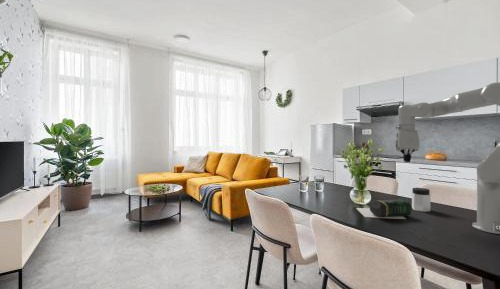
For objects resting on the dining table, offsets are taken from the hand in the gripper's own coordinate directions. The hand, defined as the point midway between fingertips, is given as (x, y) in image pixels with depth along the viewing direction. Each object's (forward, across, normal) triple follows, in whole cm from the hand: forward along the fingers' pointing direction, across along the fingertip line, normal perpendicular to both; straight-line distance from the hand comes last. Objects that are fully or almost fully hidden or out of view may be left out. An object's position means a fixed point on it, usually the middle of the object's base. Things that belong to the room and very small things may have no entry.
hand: (407, 161), depth 128 cm
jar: (+29, +12, +10) cm, 33 cm away
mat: (+29, -14, 0) cm, 32 cm away
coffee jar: (+24, -2, -1) cm, 24 cm away
